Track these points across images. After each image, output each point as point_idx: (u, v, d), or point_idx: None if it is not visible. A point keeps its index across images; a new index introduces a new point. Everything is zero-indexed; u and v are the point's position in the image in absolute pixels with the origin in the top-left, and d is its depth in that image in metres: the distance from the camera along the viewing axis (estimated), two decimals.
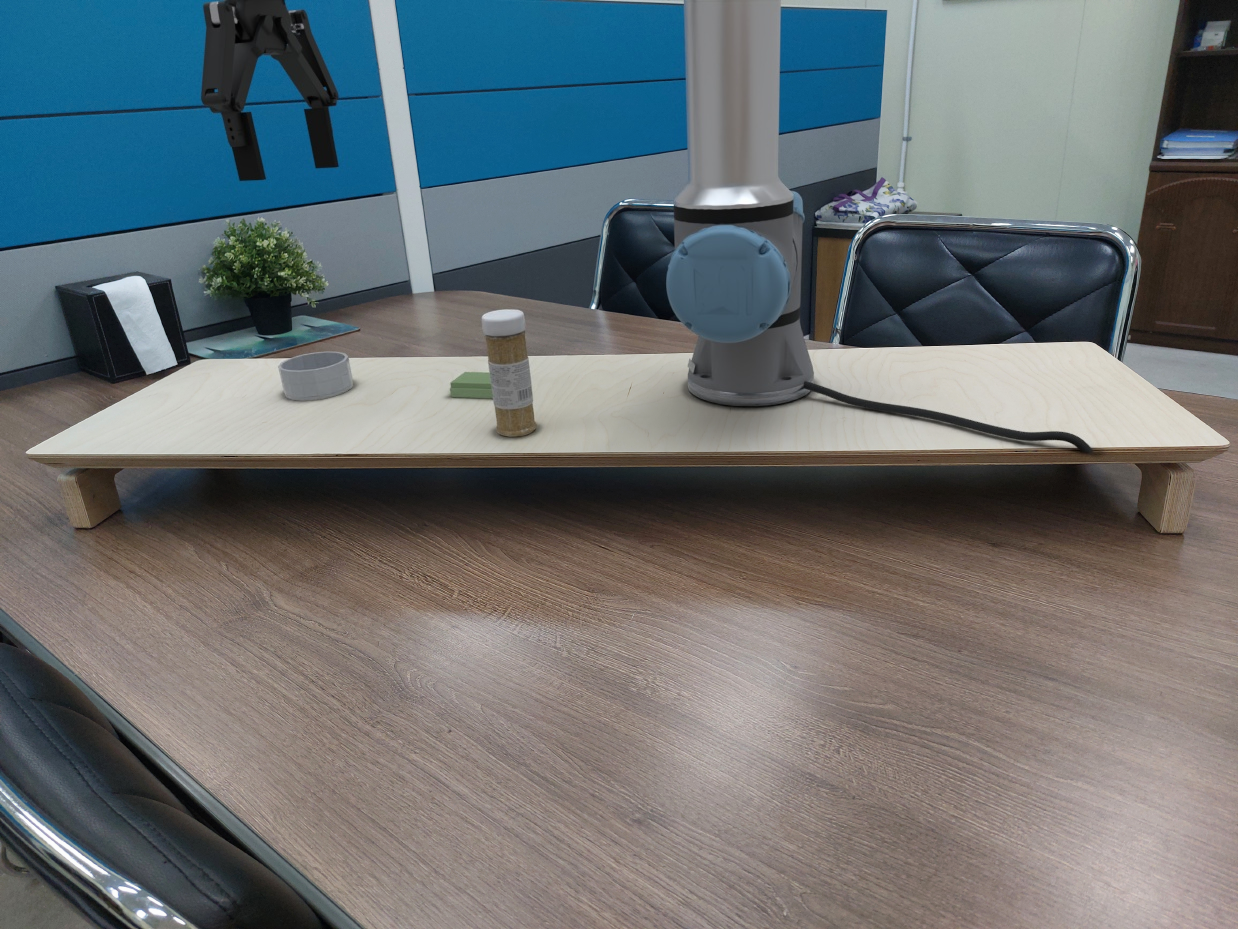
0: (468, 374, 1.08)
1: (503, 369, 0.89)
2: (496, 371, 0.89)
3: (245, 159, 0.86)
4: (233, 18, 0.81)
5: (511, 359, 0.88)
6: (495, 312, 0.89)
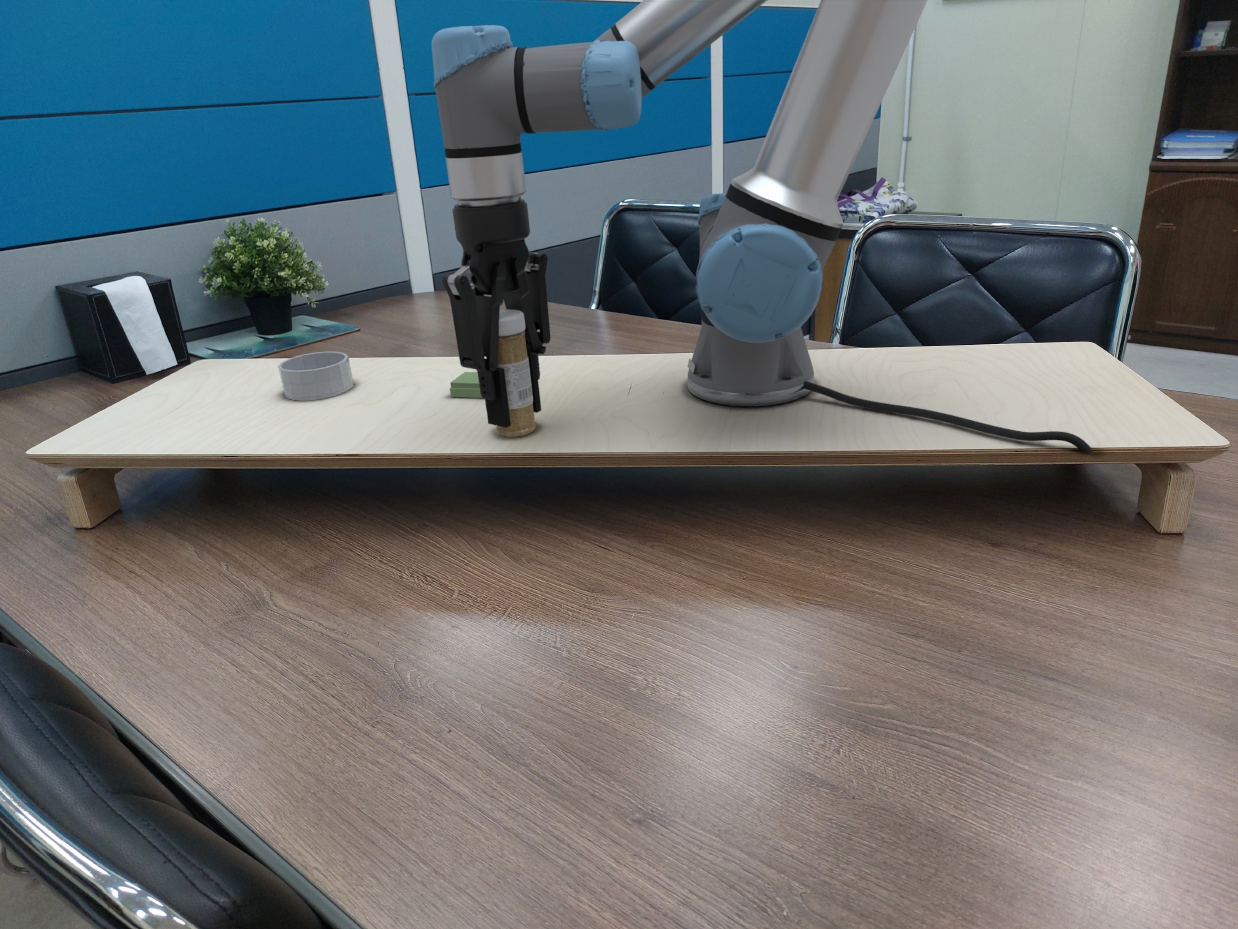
0: (468, 374, 1.08)
1: None
2: None
3: (494, 408, 0.90)
4: (470, 286, 0.82)
5: (511, 359, 0.88)
6: None
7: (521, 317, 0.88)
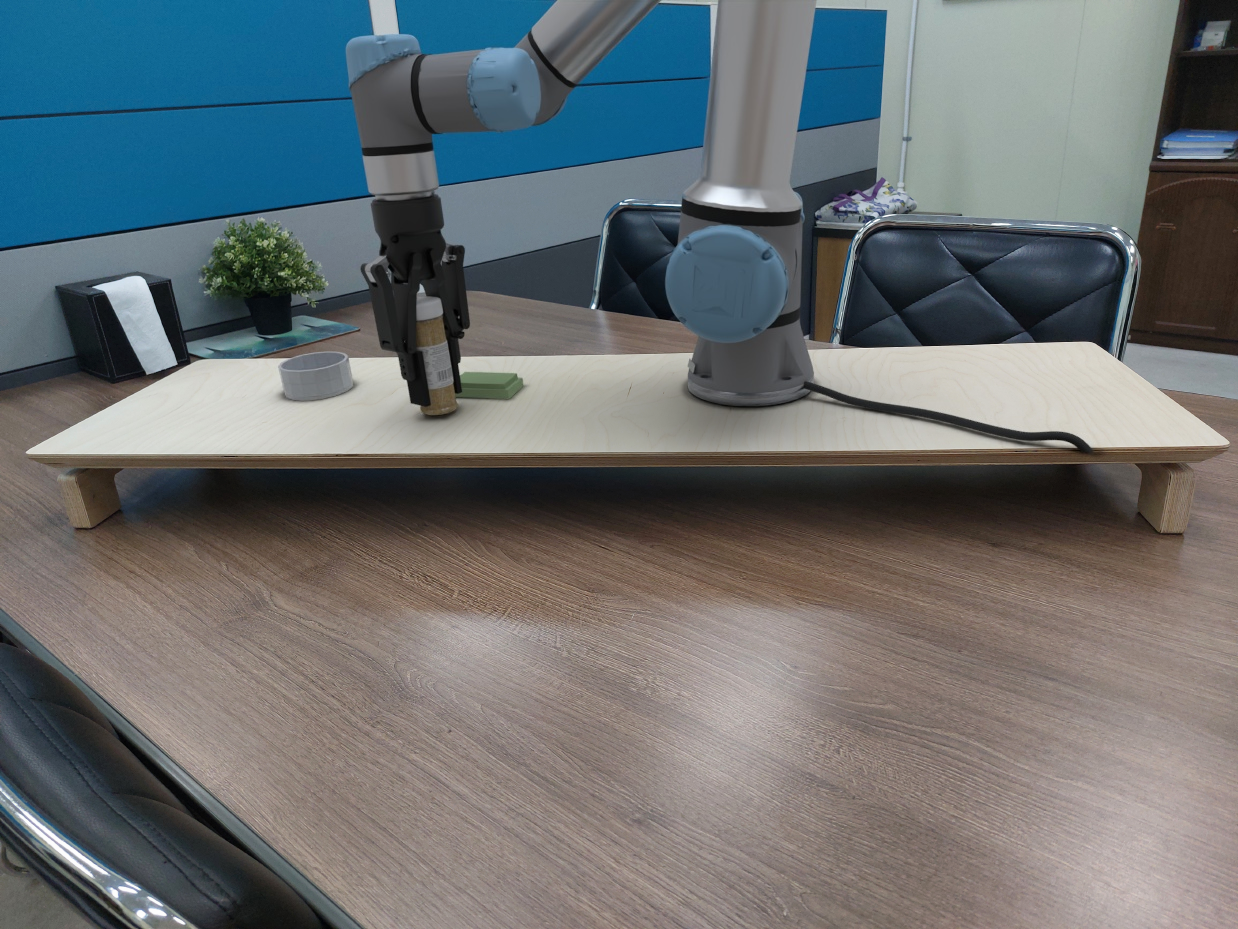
0: (468, 374, 1.08)
1: None
2: None
3: (415, 388, 0.97)
4: (386, 274, 0.89)
5: (429, 341, 0.95)
6: None
7: (437, 303, 0.95)
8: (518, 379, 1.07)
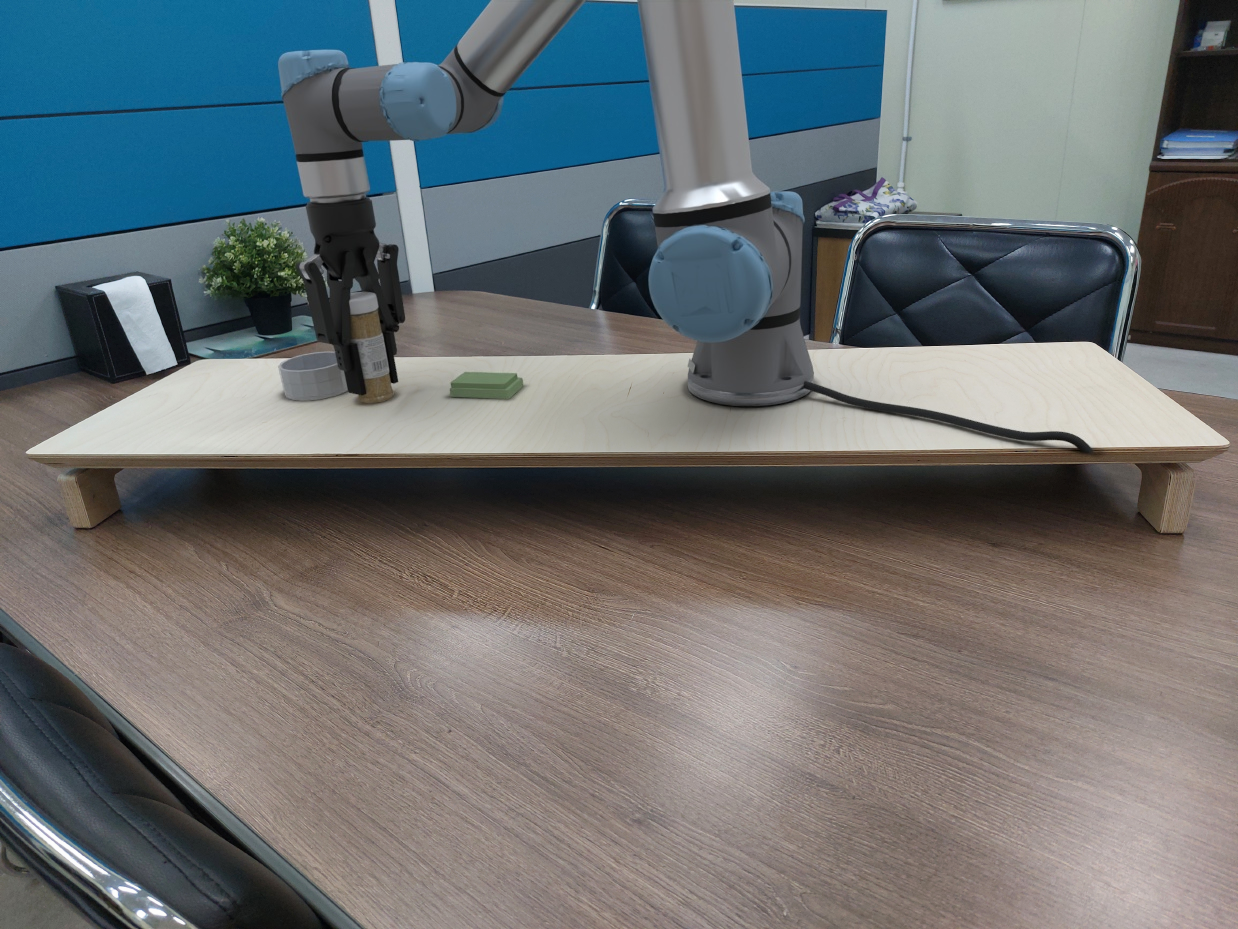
0: (468, 374, 1.08)
1: (357, 343, 1.02)
2: None
3: (351, 378, 1.04)
4: (319, 272, 0.96)
5: (364, 334, 1.02)
6: (351, 294, 1.03)
7: (372, 298, 1.01)
8: (518, 379, 1.07)
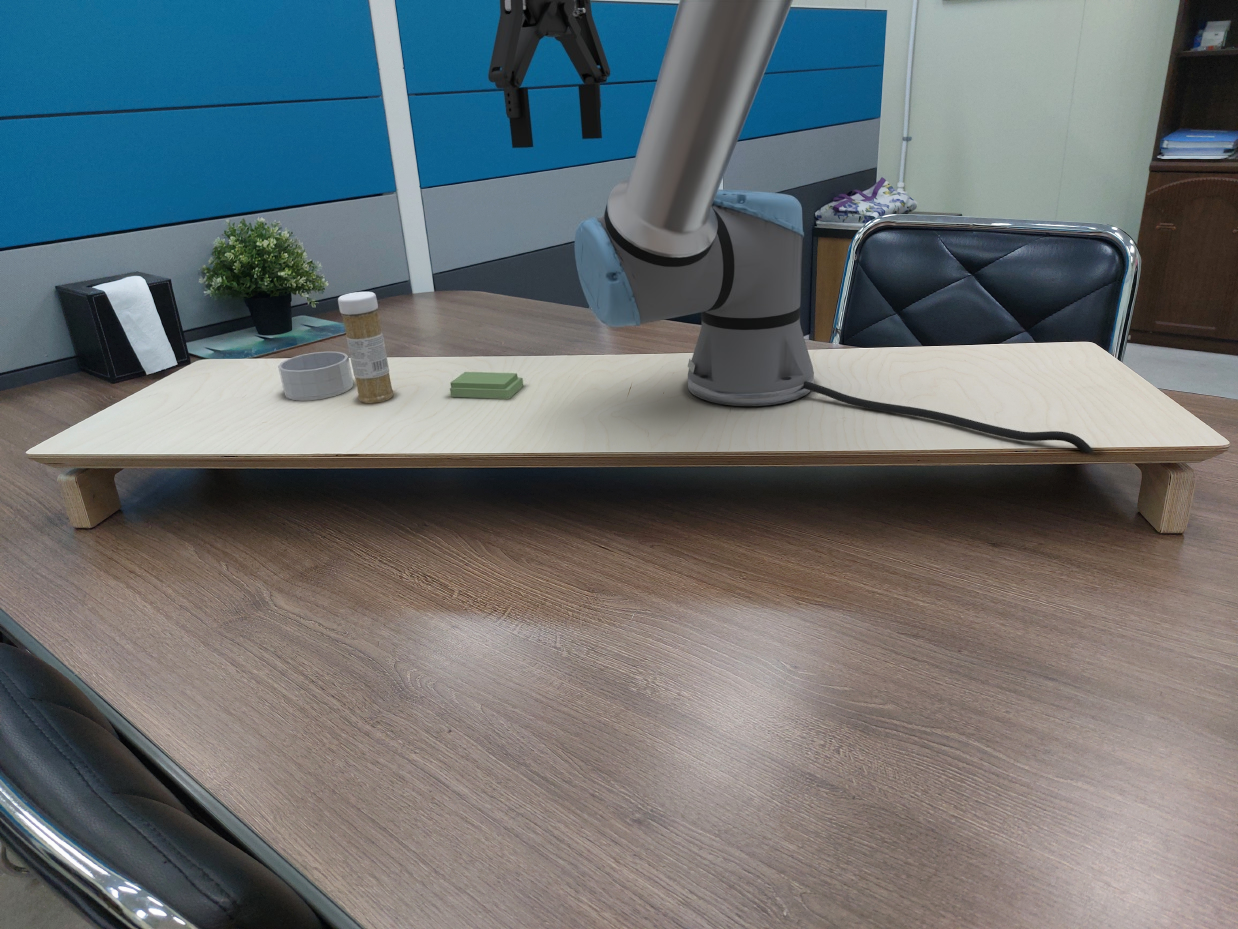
0: (468, 374, 1.08)
1: (357, 343, 1.02)
2: (352, 345, 1.03)
3: (518, 129, 0.99)
4: (522, 5, 0.94)
5: (364, 334, 1.02)
6: (351, 294, 1.03)
7: (372, 298, 1.01)
8: (518, 379, 1.07)
